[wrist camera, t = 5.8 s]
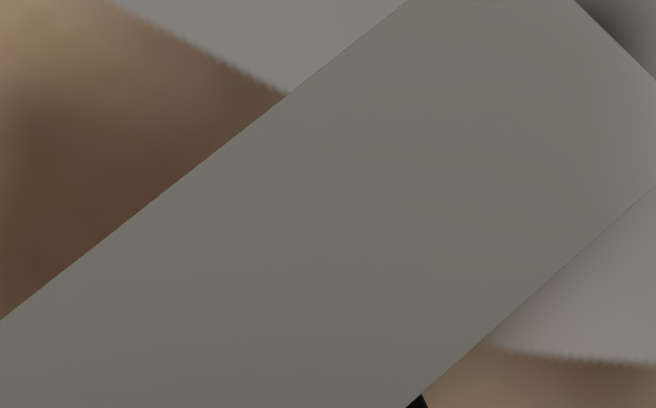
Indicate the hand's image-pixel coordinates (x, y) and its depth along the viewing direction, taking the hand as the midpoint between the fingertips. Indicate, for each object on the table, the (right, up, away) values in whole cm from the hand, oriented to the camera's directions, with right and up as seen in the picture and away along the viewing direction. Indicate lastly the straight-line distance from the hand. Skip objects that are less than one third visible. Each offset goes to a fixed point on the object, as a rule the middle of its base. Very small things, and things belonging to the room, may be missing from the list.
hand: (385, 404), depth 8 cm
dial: (-4, -2, +6) cm, 7 cm away
